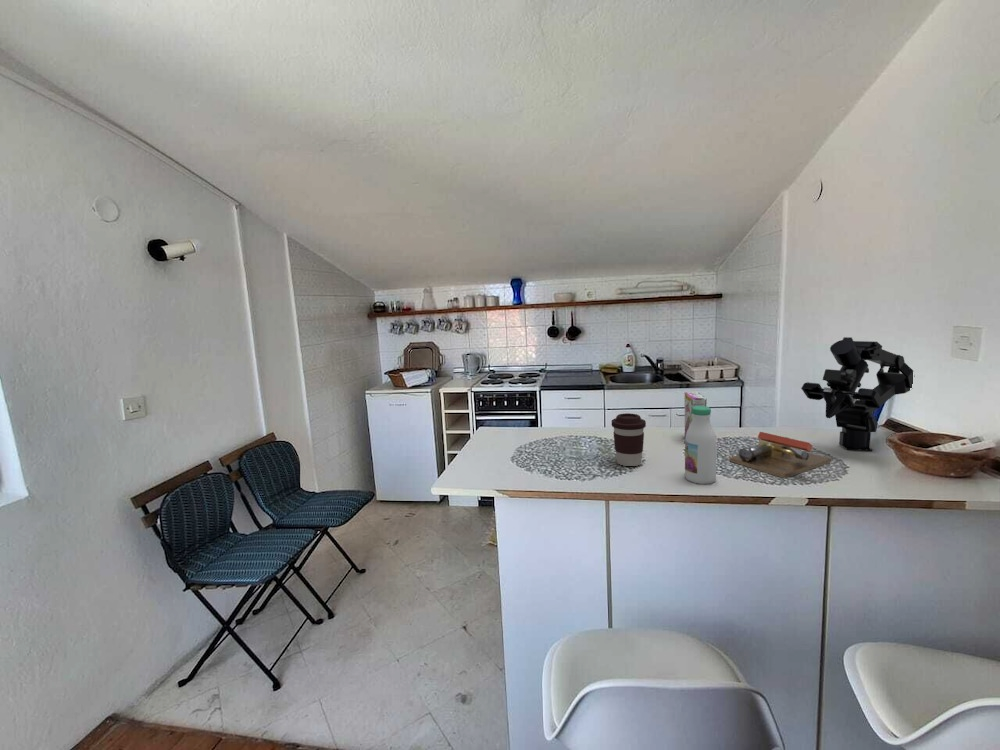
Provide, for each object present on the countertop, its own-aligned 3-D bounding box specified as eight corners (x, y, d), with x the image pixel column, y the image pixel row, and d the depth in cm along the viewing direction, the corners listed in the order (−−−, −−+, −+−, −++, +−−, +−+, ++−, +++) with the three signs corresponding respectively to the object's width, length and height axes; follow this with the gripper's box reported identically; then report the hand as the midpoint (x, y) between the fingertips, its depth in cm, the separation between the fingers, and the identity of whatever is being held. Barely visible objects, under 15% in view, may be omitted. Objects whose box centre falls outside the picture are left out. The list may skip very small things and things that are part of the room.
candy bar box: (683, 436, 154) (683, 392, 152) (698, 436, 153) (698, 391, 151) (690, 445, 143) (691, 398, 141) (706, 445, 142) (707, 398, 140)
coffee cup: (647, 459, 132) (647, 412, 130) (644, 470, 123) (643, 420, 121) (615, 456, 136) (614, 411, 134) (609, 467, 127) (608, 418, 125)
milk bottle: (713, 475, 117) (715, 404, 115) (718, 485, 110) (719, 411, 107) (683, 473, 120) (684, 404, 117) (686, 483, 113) (686, 410, 110)
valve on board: (774, 448, 136) (775, 432, 135) (831, 462, 122) (832, 445, 121) (729, 461, 127) (729, 444, 126) (784, 478, 112) (785, 459, 112)
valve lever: (781, 447, 127) (760, 431, 121) (831, 459, 115) (809, 442, 110) (779, 454, 126) (757, 437, 121) (828, 467, 115) (806, 449, 109)
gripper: (805, 356, 132) (783, 396, 129) (879, 361, 115) (855, 406, 112) (819, 378, 137) (797, 417, 134) (892, 385, 120) (869, 430, 117)
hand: (827, 417), depth 124 cm, fingers closed
